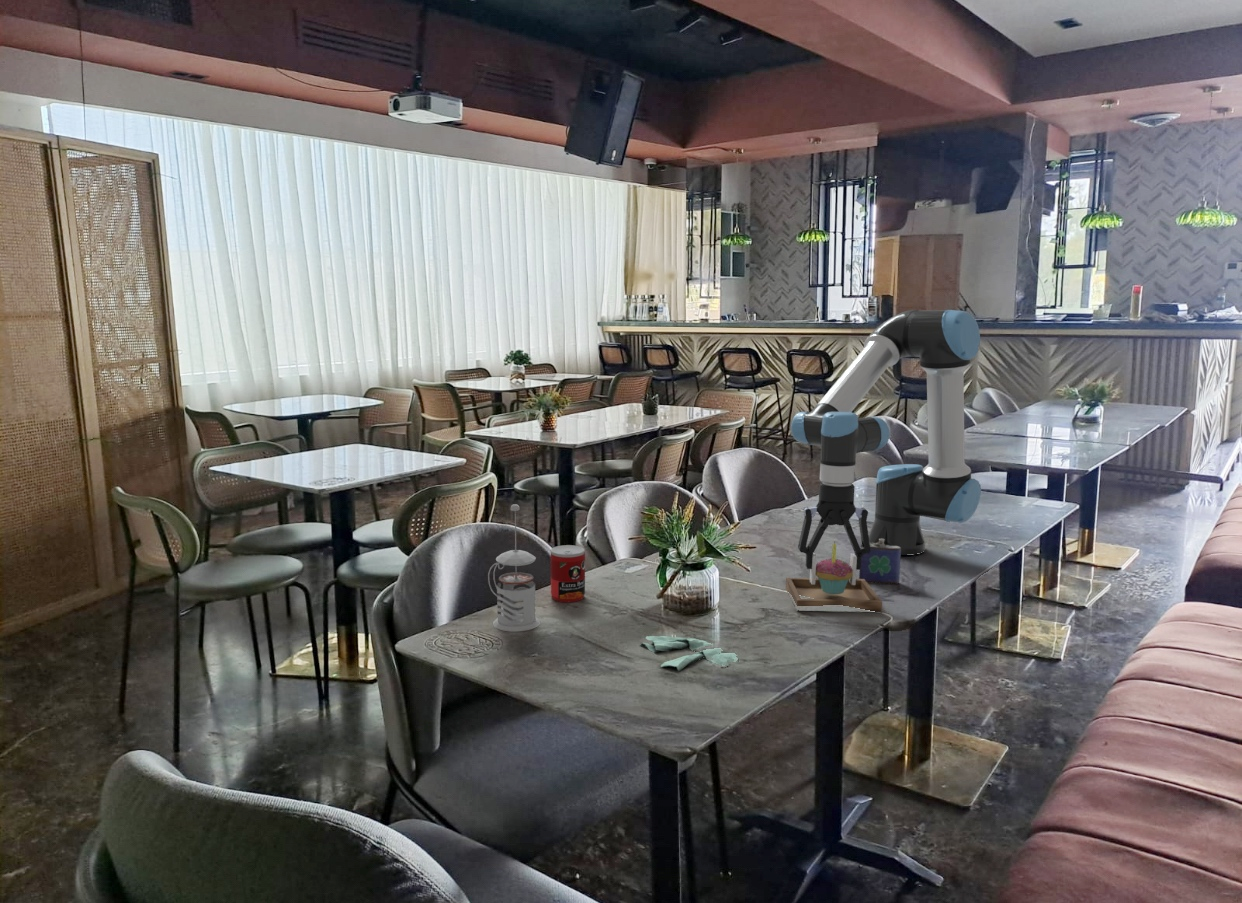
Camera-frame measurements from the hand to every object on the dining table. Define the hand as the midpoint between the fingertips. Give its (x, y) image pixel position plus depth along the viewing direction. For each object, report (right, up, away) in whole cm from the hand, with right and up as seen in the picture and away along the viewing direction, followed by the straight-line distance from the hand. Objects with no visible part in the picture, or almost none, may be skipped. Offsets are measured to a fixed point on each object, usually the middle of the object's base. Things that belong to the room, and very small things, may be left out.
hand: (832, 582), depth 194 cm
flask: (+15, -2, +14) cm, 20 cm away
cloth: (-36, -10, -30) cm, 48 cm away
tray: (0, -4, +1) cm, 4 cm away
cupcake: (0, -2, 0) cm, 2 cm away
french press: (-69, -6, -14) cm, 71 cm away
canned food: (-59, -4, +2) cm, 59 cm away
